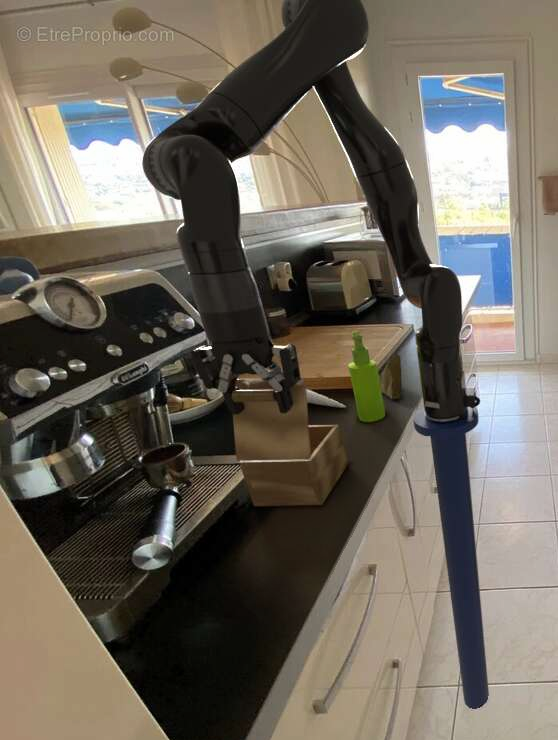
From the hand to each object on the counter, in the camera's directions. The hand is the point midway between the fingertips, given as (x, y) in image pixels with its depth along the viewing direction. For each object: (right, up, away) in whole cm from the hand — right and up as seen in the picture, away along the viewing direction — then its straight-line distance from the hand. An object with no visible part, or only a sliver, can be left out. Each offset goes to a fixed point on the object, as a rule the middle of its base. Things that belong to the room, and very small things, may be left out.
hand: (262, 411), depth 68 cm
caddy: (0, -13, +12) cm, 18 cm away
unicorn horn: (-16, +1, +45) cm, 47 cm away
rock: (+4, +3, +49) cm, 49 cm away
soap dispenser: (+4, -2, +37) cm, 37 cm away
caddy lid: (0, -1, +3) cm, 3 cm away
